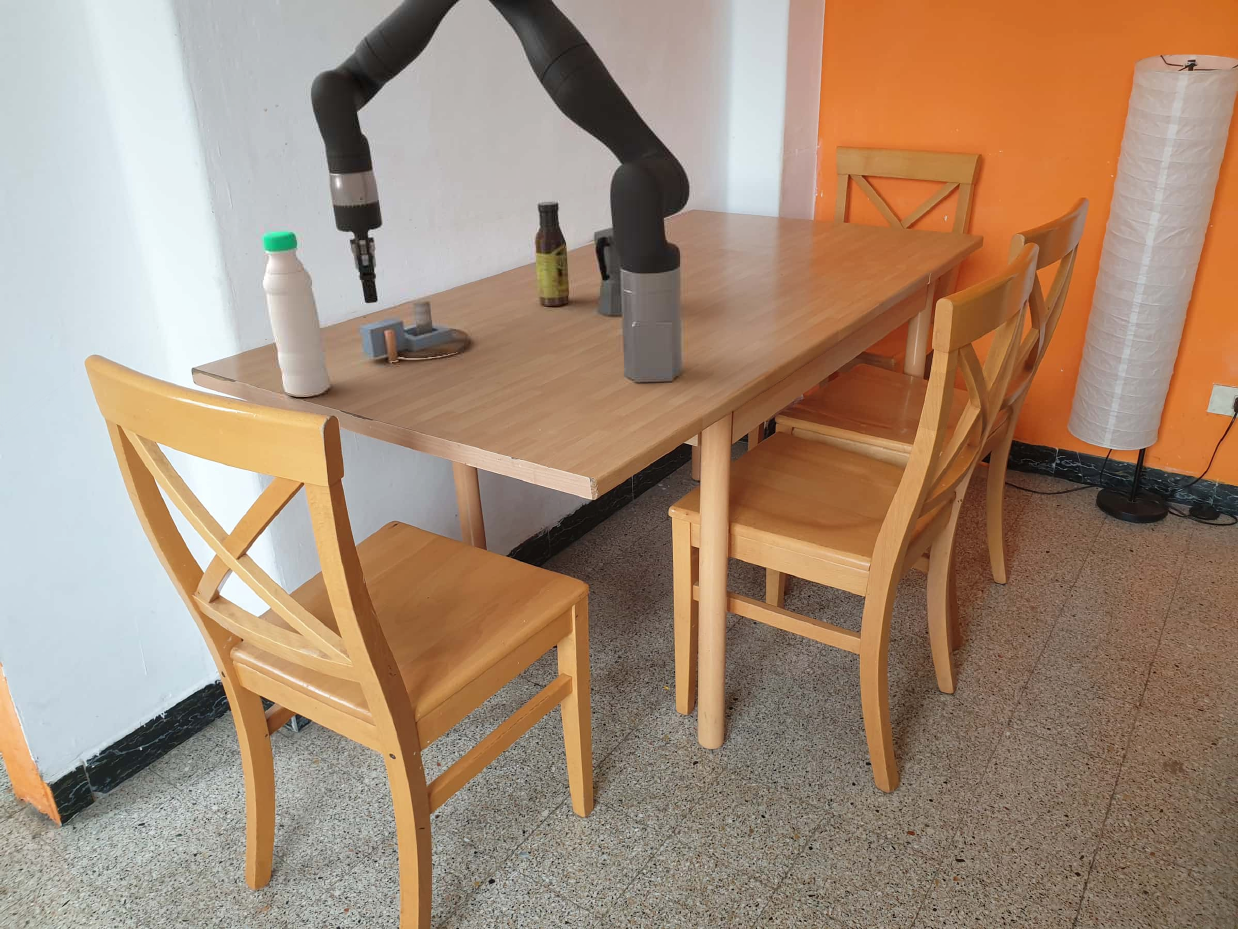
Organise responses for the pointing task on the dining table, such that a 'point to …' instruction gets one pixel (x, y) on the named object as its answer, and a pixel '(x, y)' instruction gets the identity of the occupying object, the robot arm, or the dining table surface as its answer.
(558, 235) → the sauce bottle
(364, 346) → the blue-grey block with frame
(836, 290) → the dining table surface
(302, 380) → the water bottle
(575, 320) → the dining table surface
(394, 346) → the dowel
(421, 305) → the post stand
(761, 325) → the dining table surface
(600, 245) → the coffeepot
